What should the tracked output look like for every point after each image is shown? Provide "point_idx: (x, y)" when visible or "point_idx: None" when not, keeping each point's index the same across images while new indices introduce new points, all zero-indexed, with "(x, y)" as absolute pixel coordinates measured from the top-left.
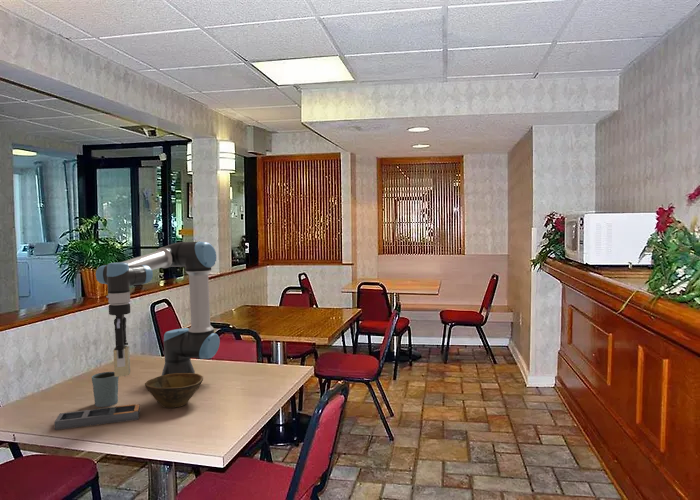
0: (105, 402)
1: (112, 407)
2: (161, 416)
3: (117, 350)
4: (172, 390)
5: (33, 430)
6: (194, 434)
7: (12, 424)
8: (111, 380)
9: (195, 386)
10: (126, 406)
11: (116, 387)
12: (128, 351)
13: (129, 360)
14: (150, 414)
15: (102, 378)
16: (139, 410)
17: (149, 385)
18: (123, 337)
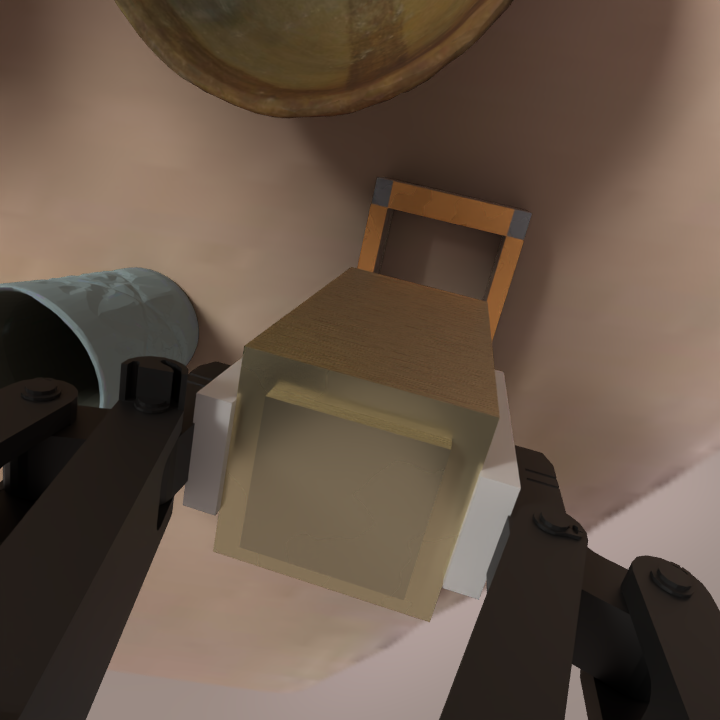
0: (189, 343)
1: None
2: (566, 61)
3: (485, 579)
4: None
5: (365, 629)
6: None
7: (244, 670)
8: (109, 341)
9: None
10: (376, 261)
11: (113, 292)
12: (414, 369)
13: (360, 304)
14: (478, 125)
15: (105, 407)
16: (425, 187)
17: (250, 75)
18: (513, 692)
